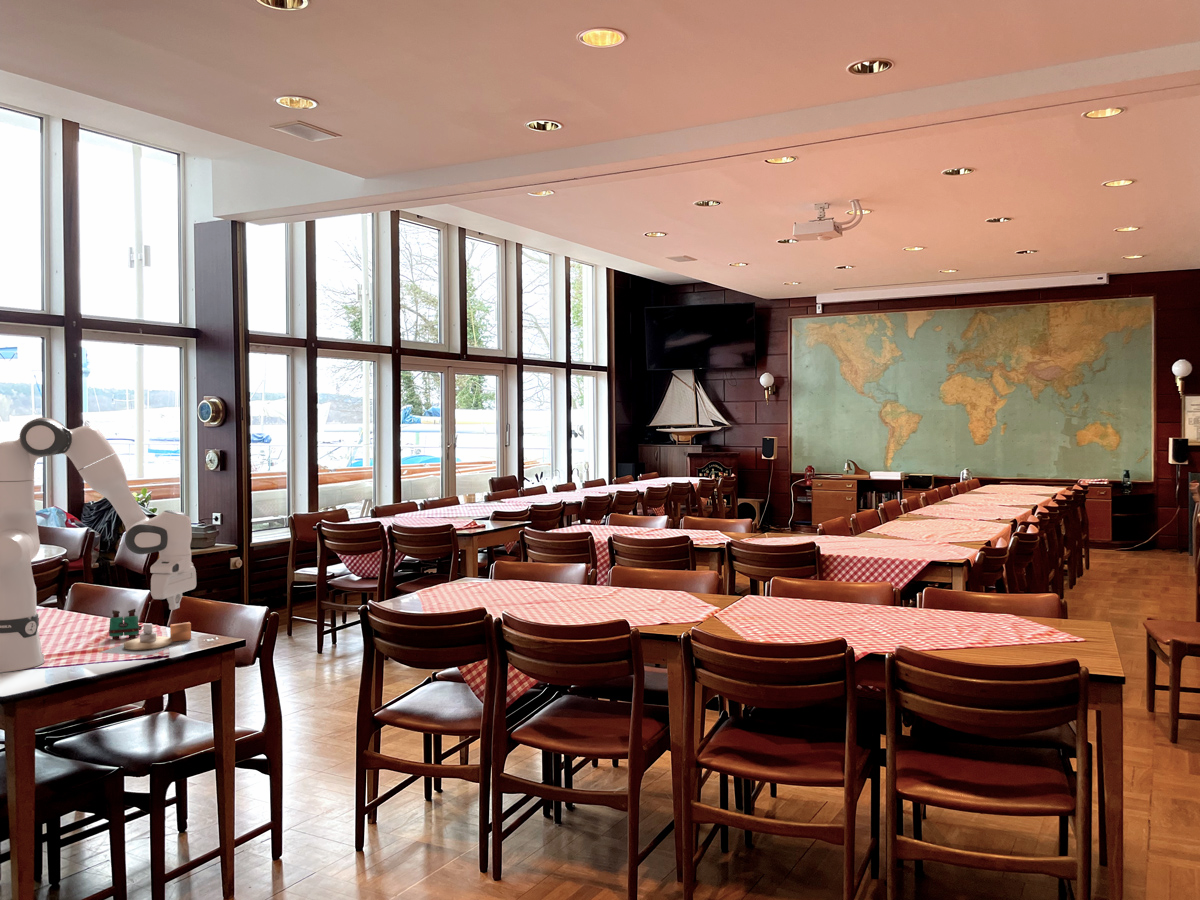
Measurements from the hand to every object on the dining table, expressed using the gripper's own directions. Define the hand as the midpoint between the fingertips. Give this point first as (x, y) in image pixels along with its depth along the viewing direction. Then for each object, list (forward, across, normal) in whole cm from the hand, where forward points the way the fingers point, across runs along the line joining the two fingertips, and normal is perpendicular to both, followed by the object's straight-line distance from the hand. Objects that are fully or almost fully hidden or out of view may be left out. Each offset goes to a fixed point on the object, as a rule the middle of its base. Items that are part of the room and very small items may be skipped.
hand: (174, 608), depth 271 cm
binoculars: (+13, -10, -21) cm, 27 cm away
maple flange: (+11, 0, -5) cm, 12 cm away
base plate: (+13, +2, -7) cm, 15 cm away
